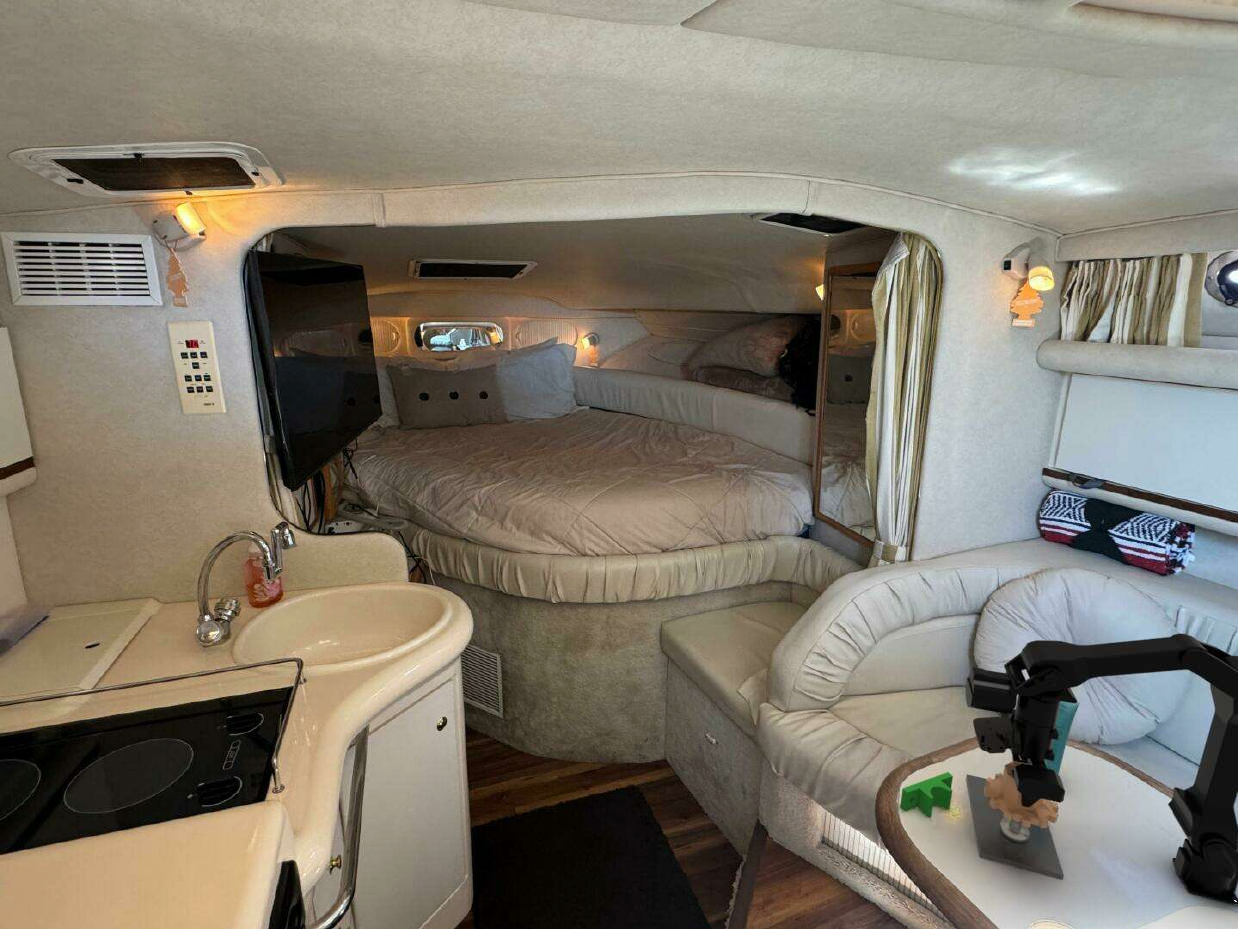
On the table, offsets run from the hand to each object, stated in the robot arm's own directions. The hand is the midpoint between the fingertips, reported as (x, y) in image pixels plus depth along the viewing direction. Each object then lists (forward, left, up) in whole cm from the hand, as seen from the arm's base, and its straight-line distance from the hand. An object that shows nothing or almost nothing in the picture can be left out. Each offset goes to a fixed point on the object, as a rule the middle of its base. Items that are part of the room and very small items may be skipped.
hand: (1021, 793), depth 108 cm
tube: (-8, -19, -10) cm, 23 cm away
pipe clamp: (+13, -3, -10) cm, 17 cm away
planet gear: (0, 0, -2) cm, 2 cm away
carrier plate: (0, -3, -10) cm, 10 cm away
